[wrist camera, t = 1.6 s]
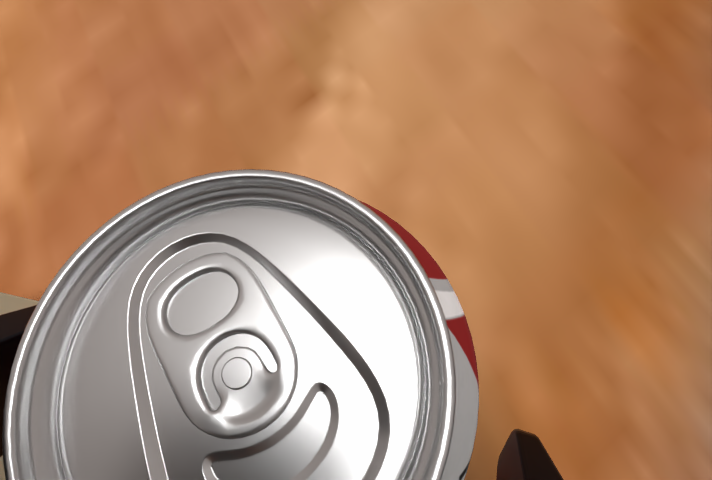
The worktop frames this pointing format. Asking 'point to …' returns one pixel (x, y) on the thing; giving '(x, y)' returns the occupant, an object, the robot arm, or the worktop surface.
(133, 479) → the soda can
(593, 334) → the worktop surface
